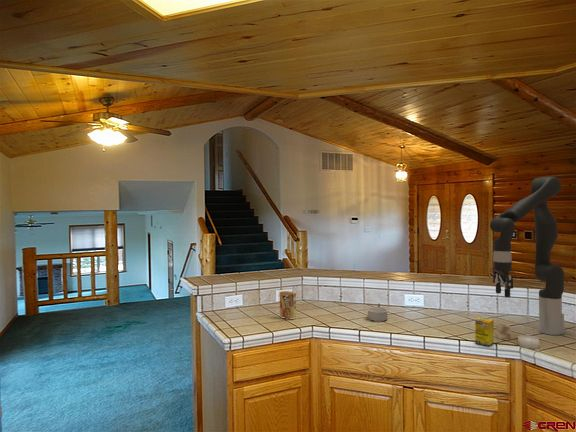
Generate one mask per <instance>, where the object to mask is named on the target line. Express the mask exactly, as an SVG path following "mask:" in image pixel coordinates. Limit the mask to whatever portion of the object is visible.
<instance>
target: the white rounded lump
mask: <svg viewBox="0 0 576 432" xmlns="http://www.w3.org/2000/svg"><path fill="white" fill-rule="evenodd" d="M517 345H518V346H520V347H521V348H525V349H529V350H530V349H532V350H535V349H536V350H537V349H539V348H540V338H539V337H537V336H533V335H529V334H528V335H527V334H526V335H525V334H521V335H518V336H517Z"/></svg>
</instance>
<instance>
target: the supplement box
mask: <svg viewBox="0 0 576 432" xmlns="http://www.w3.org/2000/svg"><path fill="white" fill-rule="evenodd" d="M494 323H495V322H494V319H490V318H484V317H478V318H476V319H475V323H474V324H475V325H474V328H475V329H474V330H475V331H474V333H475V345H480V346H485V347H488V348H490V347H491V346H492V345H494V343H495V342H494V341H495V339H494V338H495V337H494V332H495V331H494V329H495V328H494V327H495V326H494V325H495V324H494Z"/></svg>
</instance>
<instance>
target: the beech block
mask: <svg viewBox="0 0 576 432" xmlns="http://www.w3.org/2000/svg"><path fill="white" fill-rule="evenodd" d="M511 332H512V328H511V326H510V325H508V324H507V323H495V337H496V338H497V339H499V340H501V339H511V340H512V338H511V337H512V333H511Z"/></svg>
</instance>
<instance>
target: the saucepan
mask: <svg viewBox="0 0 576 432" xmlns="http://www.w3.org/2000/svg"><path fill="white" fill-rule="evenodd" d="M366 310H367V319H369V320H370V321H372V320H373V322H376V321H381V322H385V321H386V320H388V311H389V310H388V308H385V307H381V303H378V304H377V306H372V307H368V308H366ZM384 320H385V321H384Z"/></svg>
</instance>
